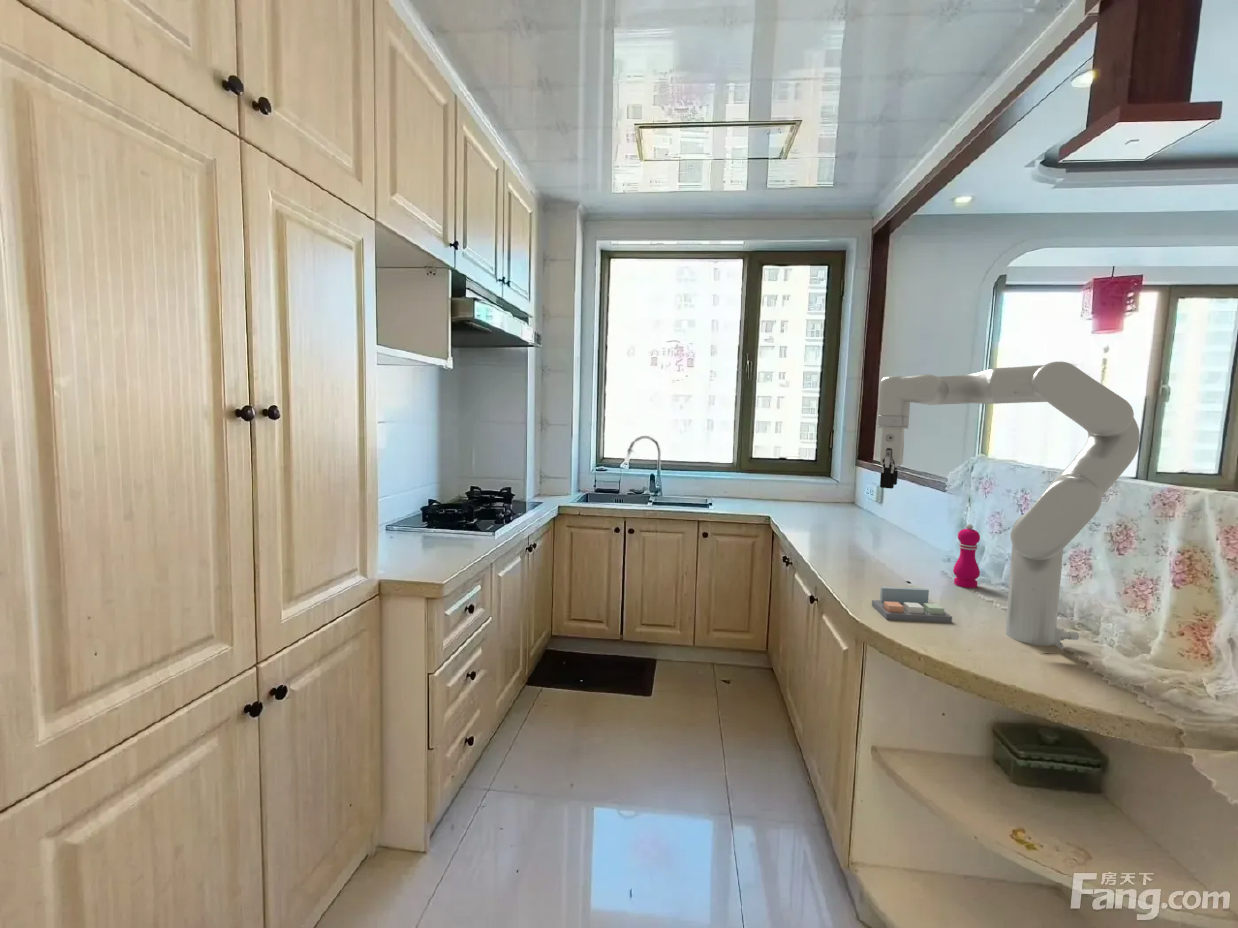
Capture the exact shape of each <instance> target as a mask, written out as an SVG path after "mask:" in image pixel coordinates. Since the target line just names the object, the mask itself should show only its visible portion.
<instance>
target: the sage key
mask: <svg viewBox="0 0 1238 928" xmlns="http://www.w3.org/2000/svg"><path fill="white" fill-rule="evenodd" d="M931 603H932V602H928V603H923V607H924V611H926V612H927V613H928V614H942V615H944V611H945V608H944V607H943V606H941V605H940V604H939V603H934V604H931Z"/></svg>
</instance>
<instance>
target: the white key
mask: <svg viewBox="0 0 1238 928" xmlns="http://www.w3.org/2000/svg"><path fill="white" fill-rule="evenodd" d="M903 607H904V610H905V611H907V612H908V613H921V614H924V607H923V606H921V605H920V604H919V603H909V602H904V604H903Z"/></svg>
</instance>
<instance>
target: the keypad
mask: <svg viewBox="0 0 1238 928" xmlns="http://www.w3.org/2000/svg"><path fill="white" fill-rule="evenodd" d="M929 594H930V590H929V589H928V588H918V587H917V588H914V587H894V586H893V587H891V586H890V587H889V586H881V587H880V598H879V599H880V600H878V599H876V600H875V599H873V600H871V607H872V608H874V609H875V610H876V612H878V613H879V614H880V615H881V616H882V617H883V618H884V619H885V620H887V621H891V620H892V621H909V622H928V623H929V622H930V623H931V622H932V623H949V624H952V623H953V616H951V614H949V613H948V612H946V611H945V610H944V615H942V614H928V613H927V612H926V611H924V614H921V613H908V612H907V611H905V610H903V613H900V612H888V611H887V610H885V609H884V601H887V602H899V603H900V604H901V605H902V606H903V604H904V602H909V603H919V604H920V605H921V606H923V603H929ZM930 603H931V604H935V603H934V602H930Z"/></svg>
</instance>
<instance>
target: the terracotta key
mask: <svg viewBox="0 0 1238 928" xmlns="http://www.w3.org/2000/svg"><path fill="white" fill-rule="evenodd" d="M884 609H885V610H887V611H888V612H900V613H903V610H904V607H903V606H902V605H901V604H900V603H899V602H887V601H884Z"/></svg>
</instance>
